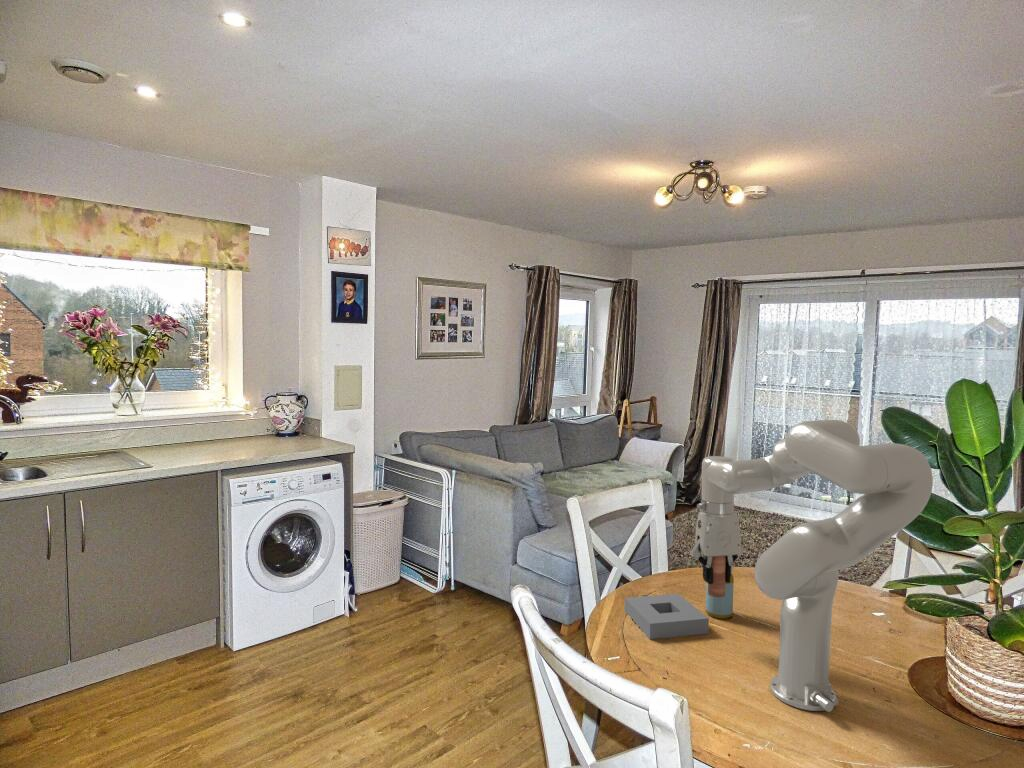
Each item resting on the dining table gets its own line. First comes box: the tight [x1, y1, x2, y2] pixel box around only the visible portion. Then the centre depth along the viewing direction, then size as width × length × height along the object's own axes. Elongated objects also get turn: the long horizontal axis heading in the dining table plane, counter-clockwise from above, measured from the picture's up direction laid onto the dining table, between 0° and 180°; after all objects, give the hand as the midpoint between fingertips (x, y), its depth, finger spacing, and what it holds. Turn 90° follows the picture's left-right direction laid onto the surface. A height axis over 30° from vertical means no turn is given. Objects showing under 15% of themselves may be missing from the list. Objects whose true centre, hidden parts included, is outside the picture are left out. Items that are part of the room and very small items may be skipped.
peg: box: [708, 556, 726, 597], centre depth 151 cm, size 4×4×12 cm
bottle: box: [705, 566, 735, 620], centre depth 168 cm, size 7×7×15 cm
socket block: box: [624, 593, 710, 640], centre depth 162 cm, size 16×16×4 cm
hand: (716, 580), depth 151 cm, fingers closed on peg, 4 cm apart
